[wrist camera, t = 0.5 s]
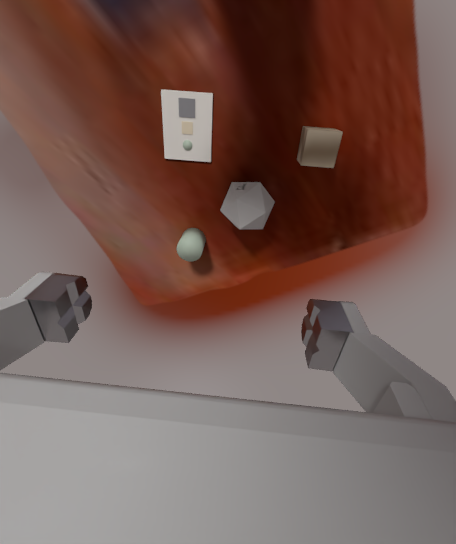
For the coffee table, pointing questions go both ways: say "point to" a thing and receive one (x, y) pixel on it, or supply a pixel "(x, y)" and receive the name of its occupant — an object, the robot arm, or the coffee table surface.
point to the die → (247, 205)
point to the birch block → (318, 146)
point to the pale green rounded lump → (191, 244)
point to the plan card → (187, 125)
